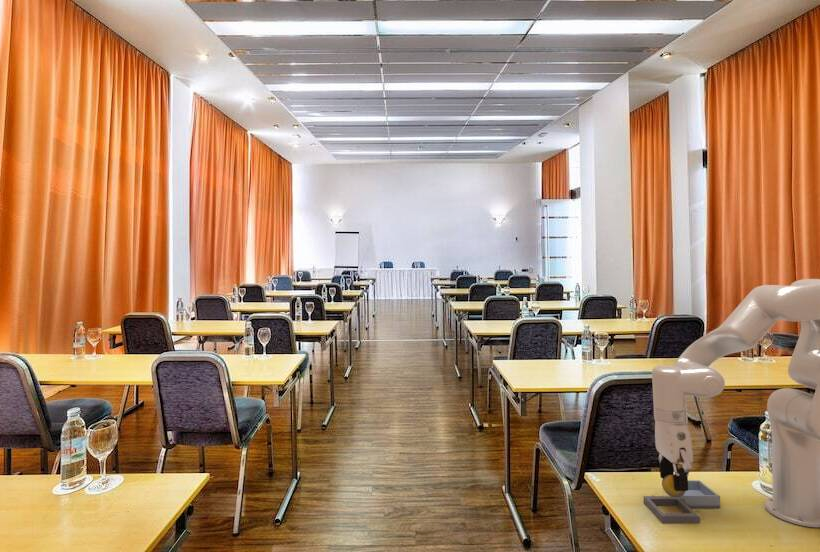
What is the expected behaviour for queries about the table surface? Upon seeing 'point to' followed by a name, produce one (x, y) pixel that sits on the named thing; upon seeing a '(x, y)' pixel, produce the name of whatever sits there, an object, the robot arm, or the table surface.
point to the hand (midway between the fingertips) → (673, 483)
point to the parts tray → (700, 496)
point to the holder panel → (685, 517)
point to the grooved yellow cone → (670, 486)
